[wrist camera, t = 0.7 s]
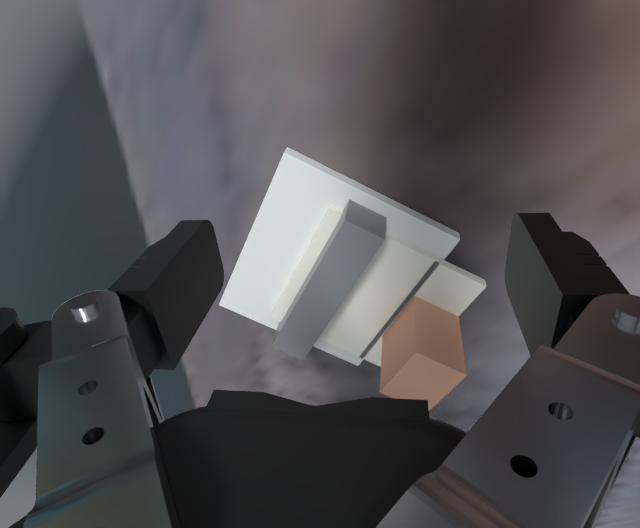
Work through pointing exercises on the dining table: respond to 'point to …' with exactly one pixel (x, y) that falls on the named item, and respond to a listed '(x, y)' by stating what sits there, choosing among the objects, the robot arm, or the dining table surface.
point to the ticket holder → (331, 261)
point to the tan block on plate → (427, 338)
